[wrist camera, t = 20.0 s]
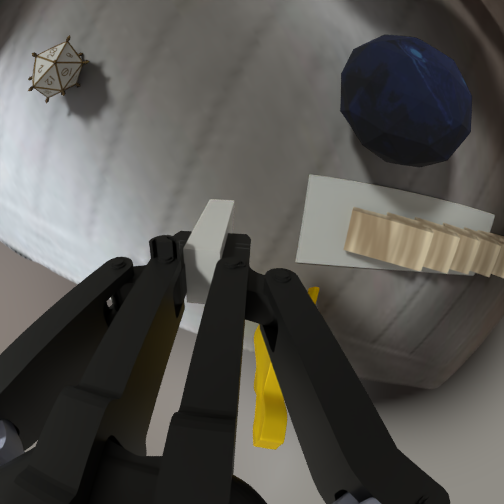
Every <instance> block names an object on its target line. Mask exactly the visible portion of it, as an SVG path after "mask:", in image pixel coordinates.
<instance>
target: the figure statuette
mask: <svg viewBox="0 0 504 504" xmlns="http://www.w3.org/2000/svg"><path fill="white" fill-rule="evenodd" d="M319 289H320V288H318V287H312V288H309V289H308V294H309V295H310V297H311V299H312V300H313V302H314V304H315V305H316V301H317V297H318V293H319ZM254 345H255V355H256V373H255V380H254V391H255V393H256V395H257V396H256V408H255V419H254V424H253V445H254V446H256V447H262V448H267V449H275V450H276V449H277V448H278V447H279V446H280V445H281V444H283V443H284V439H285V433H286V426H287V410H286V406H285V403H284V398H283V395H282V392H281V389H280V386H279V383H278V380H277V378H276V375H275V372H274V369H273V366H272V363H271V360H270V357H269V354H268V351H267V348H266V345H265V342H264V339H263V337H262V334H261V331H260V324H259V326H258V327H257V329H256V331H255V334H254Z"/></svg>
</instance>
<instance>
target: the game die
mask: <svg viewBox="0 0 504 504" xmlns="http://www.w3.org/2000/svg"><path fill="white" fill-rule="evenodd" d="M69 40H70V35H69V36H68V37H67V39H66V42H63V43H61V44H59V45H57V46H54V47H52V48H50V49H48V50H46V51H44V52H42V53H40V54H38V55H37V54H36V53H32V56H34V57H35V63H34V69H33V76H31V77H29V79H28V80H32V82H33V86H32V87H31V88H29V90H28V91H32V90H33V88H34V89H36V90H37V91H39V92H40V93H41V94H43V95H44V96H46V97H47V99H46V104H47V102H49V98H50V97H52V96H54V95H56V94H58V93H60V92H61V95H63V96H64V95H65V91H64V90H66V89H68V88H70V87H72V86H74V85H76V86H77V87H80V84H79V83H77V80H78V77H79V74H80V71H81V68H82V66H83V64H87V63H88V62H89V61H87V60H86V61H84V62H83V61H82V59H81V58H80V56H81V55H82V54H83V53H79V54H77V52H76V51H75V50H74V48H73V47H72V46H71V45H70V43H69V42H68V41H69Z"/></svg>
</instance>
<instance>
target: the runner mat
mask: <svg viewBox="0 0 504 504" xmlns="http://www.w3.org/2000/svg"><path fill="white" fill-rule="evenodd" d="M353 207H357V208H361V209H364V210H368V211H372V212H376V213H379V214H383V215H387V212H389V213H392V214H396V215H400V216H403V217H406V218H410V219H413V220H414V218H415V217H417V218H421V219H424V220H427V221H430V222H434V223H437V224H440V225H443V222H444V223H447V224H450V225H453V226H455V227H458V228H461V229H464V227H466V228H469V229H472V230H474V231H478V230H480V231H485V232H489V233H490V230H491V227H492V224H493V220H494V217H495V215H494V214H491V213H488V212H485V211H481V210H478V209H475V208H471V207H468V206H464V205H461V204H457V203H453V202H449V201H446V200H442V199H438V198H434V197H430V196H426V195H421V194H417V193H413V192H408V191H403V190H399V189H394V188H389V187H384V186H379V185H374V184H368V183H363V182H357V181H351V180H345V179H339V178H332V177H326V176H319V175H312V174H309V180H308V187H307V193H306V200H305V206H304V213H303V219H302V225H301V231H300V237H299V243H298V249H297V255H296V260H295V261H296V262H299V263H311V264H323V265H336V266H349V267H361V268H374V269H388V270H401V271H414V272H420V271H416V270H413V269H410V268H406V267H403V266H399V265H396V264H392V263H389V262H385V261H382V260H378V259H375V258H371V257H367V256H364V255H360V254H356V253H353V252H349V251H346V250H343V249H344V245H345V241H346V237H347V232H348V228H349V223H350V219H351V214H352V210H353ZM421 272H428V273H442V274H446V273H443V272H440V271H436V270H433V269H430V268H426V267H422V270H421ZM447 274H456V275H467V274H464V273H461V272H458V271H454V270H451V269H449V271H448V273H447ZM474 274H475V272H472V271H469V274H468V275H471V276H474Z"/></svg>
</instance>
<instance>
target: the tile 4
mask: <svg viewBox="0 0 504 504" xmlns="http://www.w3.org/2000/svg"><path fill="white" fill-rule="evenodd" d="M443 226H446V227H449V228H452V229H455V230H458V231H461V232H464V233H467V234H470V235H473V236H475V237H477V238H478V239H479V240H480V241H481V242H480V245H479V248H478V250H477V253H476V256H475V258H474V261H473V264H472V266H471V269H470V271H472V272H475V273H478V274H481V275H484V276H487V277H490V275H491V272H492V270H493V267H494V265H495V262H496V260H497V257H498V254H499V252H500V249H501V246H500V245H499V243H498V242H496V241H493V240H491V239H488V238H486V237H483V236H480V235H478V234H475V233H472V232H470V231H467V230H464V229H461V228H458V227H455V226H453V225H450V224H447V223H444V222H443Z"/></svg>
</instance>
